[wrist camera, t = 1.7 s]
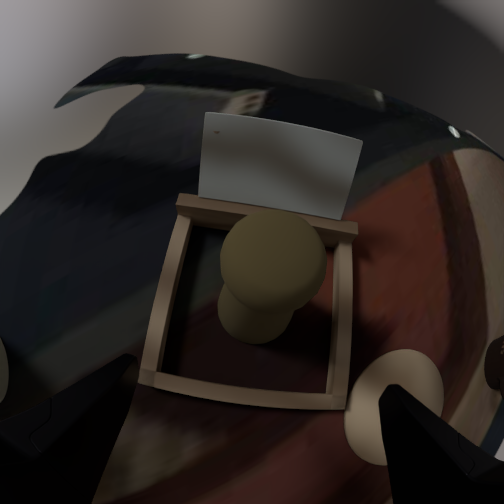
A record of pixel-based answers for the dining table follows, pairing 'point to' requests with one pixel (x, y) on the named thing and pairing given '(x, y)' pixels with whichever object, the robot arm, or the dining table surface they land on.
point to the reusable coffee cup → (3, 371)
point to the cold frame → (254, 200)
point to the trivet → (371, 388)
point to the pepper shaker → (268, 273)
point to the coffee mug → (495, 365)
